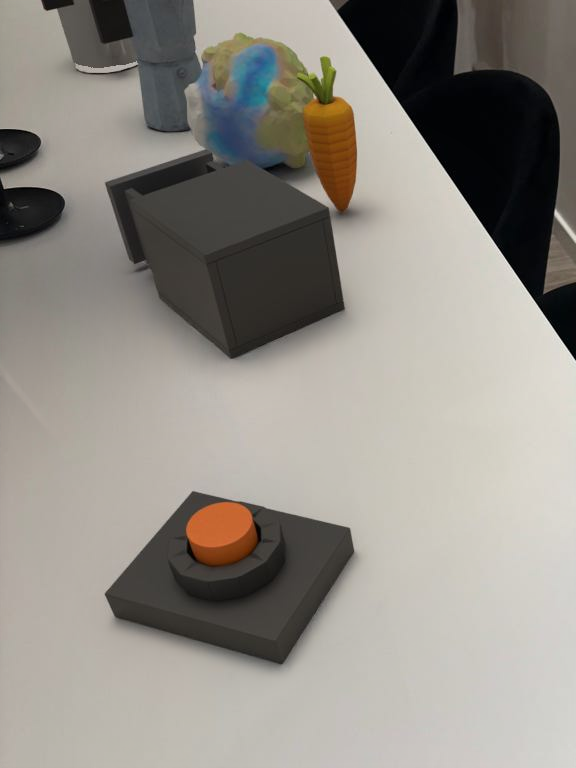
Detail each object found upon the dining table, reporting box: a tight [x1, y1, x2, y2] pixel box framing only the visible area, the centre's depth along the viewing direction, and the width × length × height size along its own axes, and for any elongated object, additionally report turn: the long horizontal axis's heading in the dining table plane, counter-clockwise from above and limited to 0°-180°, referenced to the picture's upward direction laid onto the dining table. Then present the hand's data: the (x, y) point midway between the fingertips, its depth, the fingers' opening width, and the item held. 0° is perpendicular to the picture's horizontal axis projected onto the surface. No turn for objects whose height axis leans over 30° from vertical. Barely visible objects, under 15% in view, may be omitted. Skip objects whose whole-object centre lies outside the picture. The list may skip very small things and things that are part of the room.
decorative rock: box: [184, 31, 315, 170], centre depth 107 cm, size 14×16×15 cm
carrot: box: [297, 55, 358, 213], centre depth 96 cm, size 5×5×15 cm
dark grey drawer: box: [104, 148, 224, 267], centre depth 90 cm, size 17×10×8 cm, turn 40°
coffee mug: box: [56, 0, 138, 68], centre depth 134 cm, size 13×10×10 cm
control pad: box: [104, 490, 355, 665], centre depth 61 cm, size 12×10×4 cm
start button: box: [186, 502, 258, 567], centre depth 59 cm, size 4×4×2 cm
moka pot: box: [124, 0, 202, 132], centre depth 115 cm, size 10×15×20 cm, turn 57°
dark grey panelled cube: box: [130, 160, 346, 359], centre depth 85 cm, size 14×12×10 cm
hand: (87, 23), depth 88 cm, fingers open, 13 cm apart
